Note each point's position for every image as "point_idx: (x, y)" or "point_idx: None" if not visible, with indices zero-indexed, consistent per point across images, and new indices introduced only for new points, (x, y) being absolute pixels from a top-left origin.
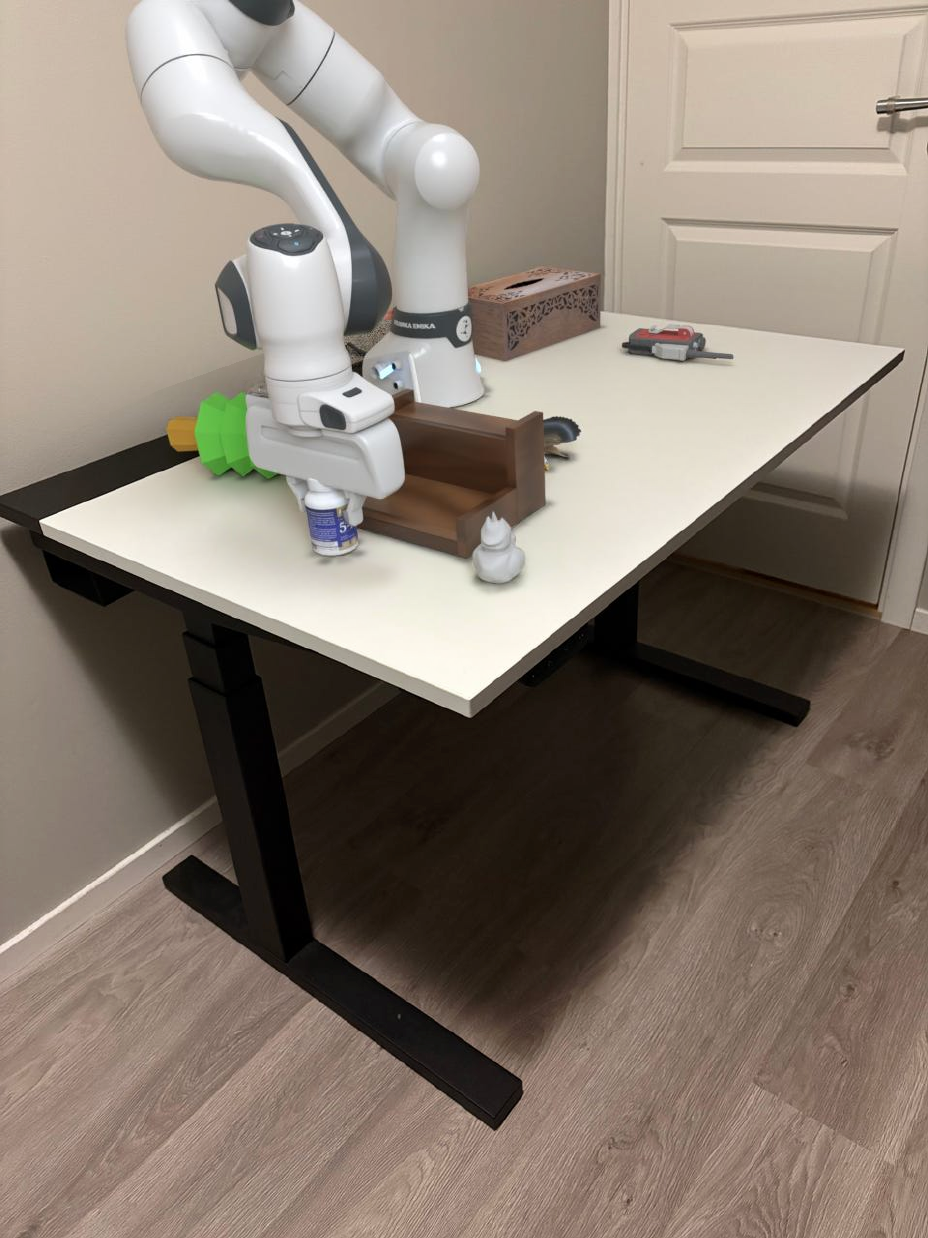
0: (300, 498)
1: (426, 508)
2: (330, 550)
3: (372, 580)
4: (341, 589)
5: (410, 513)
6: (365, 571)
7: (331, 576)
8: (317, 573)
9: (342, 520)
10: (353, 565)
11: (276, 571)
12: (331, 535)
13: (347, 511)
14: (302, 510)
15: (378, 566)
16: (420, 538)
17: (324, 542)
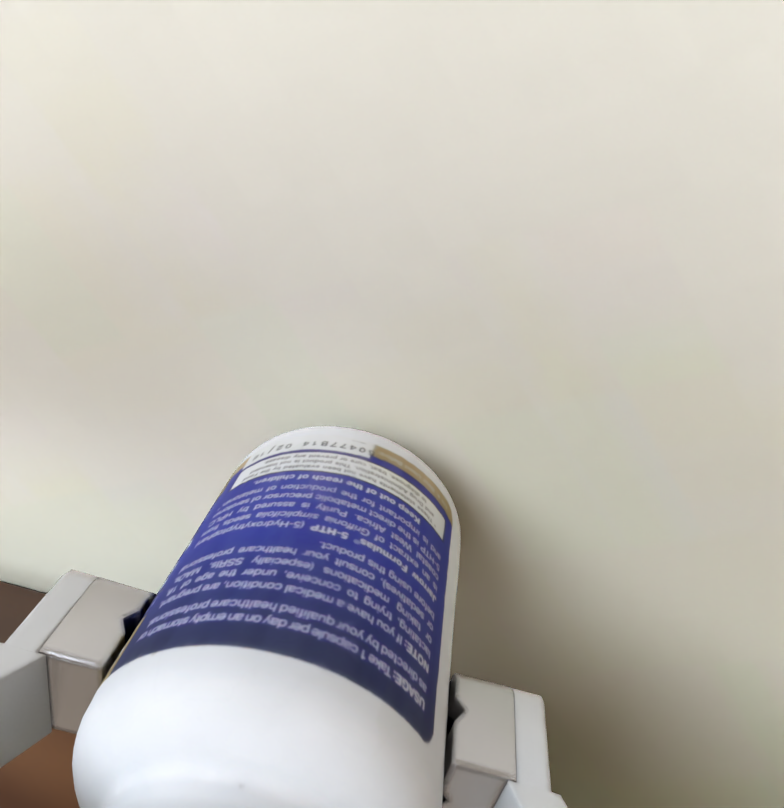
0: (519, 785)
1: (33, 774)
2: (286, 444)
3: (2, 291)
4: (69, 155)
5: (60, 739)
6: (95, 362)
7: (215, 274)
8: (307, 284)
9: (143, 603)
10: (187, 401)
11: (561, 242)
12: (235, 504)
13: (34, 652)
14: (517, 694)
15: (76, 417)
16: (23, 617)
17: (298, 468)
